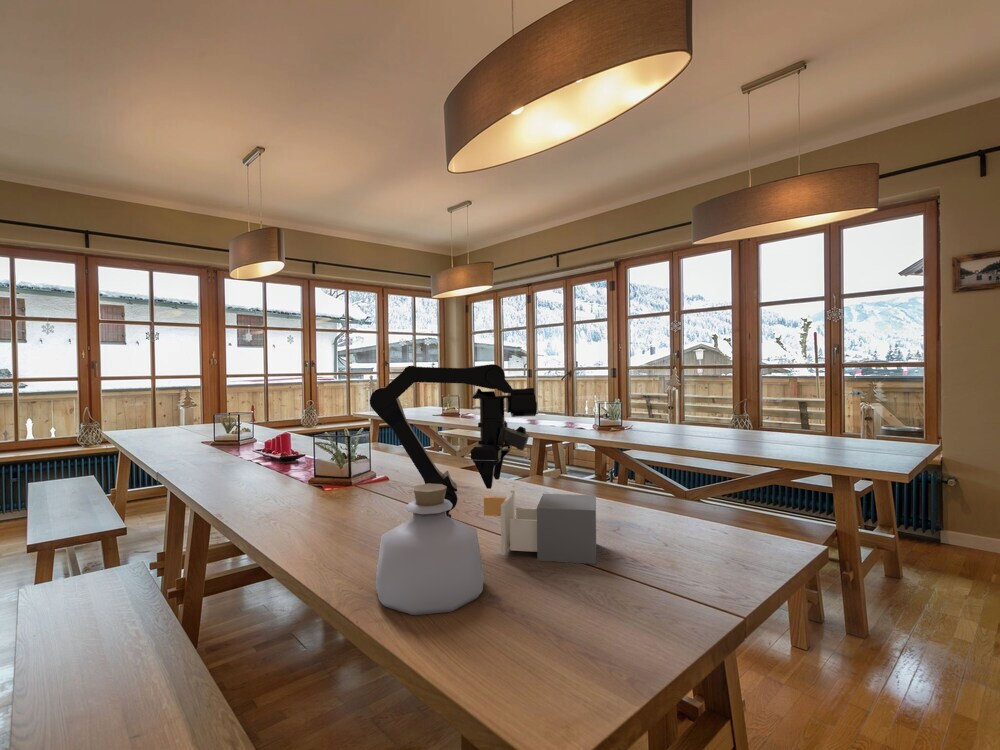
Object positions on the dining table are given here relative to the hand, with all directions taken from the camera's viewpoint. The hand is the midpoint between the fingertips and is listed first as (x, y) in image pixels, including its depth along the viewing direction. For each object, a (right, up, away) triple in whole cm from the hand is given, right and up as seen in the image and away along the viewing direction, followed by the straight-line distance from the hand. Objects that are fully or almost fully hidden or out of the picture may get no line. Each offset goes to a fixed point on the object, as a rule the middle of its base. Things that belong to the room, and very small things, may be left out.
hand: (493, 483), depth 117 cm
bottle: (-11, -14, -27) cm, 32 cm away
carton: (+16, -13, -9) cm, 23 cm away
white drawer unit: (+6, -12, -7) cm, 15 cm away
